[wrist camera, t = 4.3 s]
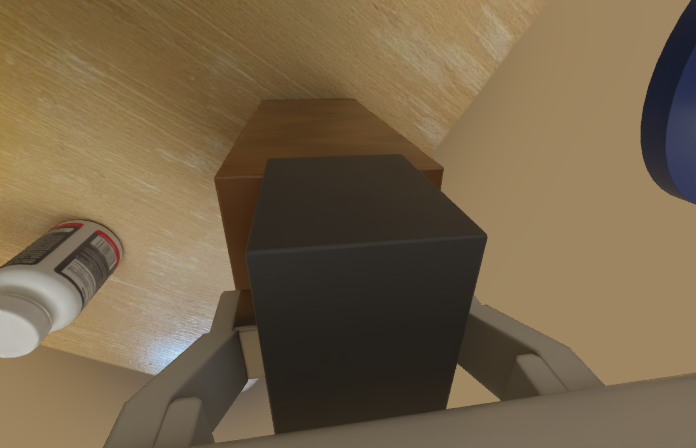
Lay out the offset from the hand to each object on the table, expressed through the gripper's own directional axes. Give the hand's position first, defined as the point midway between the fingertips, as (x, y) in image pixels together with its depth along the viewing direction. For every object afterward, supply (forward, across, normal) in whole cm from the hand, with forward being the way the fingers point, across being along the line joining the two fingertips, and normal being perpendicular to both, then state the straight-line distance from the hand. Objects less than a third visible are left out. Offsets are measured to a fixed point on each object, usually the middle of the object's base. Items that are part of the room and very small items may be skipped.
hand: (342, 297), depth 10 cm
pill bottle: (+19, +19, +8) cm, 28 cm away
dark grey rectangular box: (+2, 0, 0) cm, 2 cm away
